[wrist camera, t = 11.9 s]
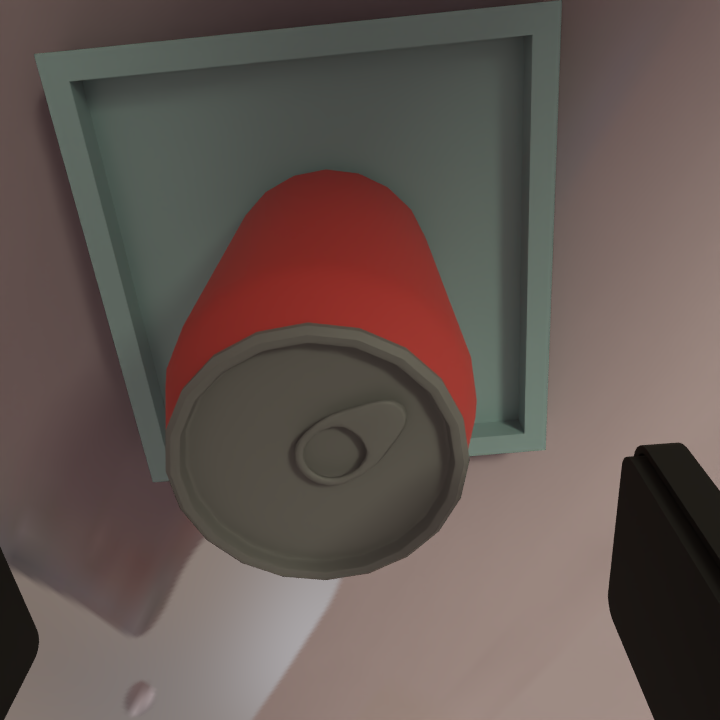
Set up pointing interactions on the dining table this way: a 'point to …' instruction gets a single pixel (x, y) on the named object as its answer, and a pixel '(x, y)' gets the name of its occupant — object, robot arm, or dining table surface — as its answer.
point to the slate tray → (319, 152)
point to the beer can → (321, 386)
